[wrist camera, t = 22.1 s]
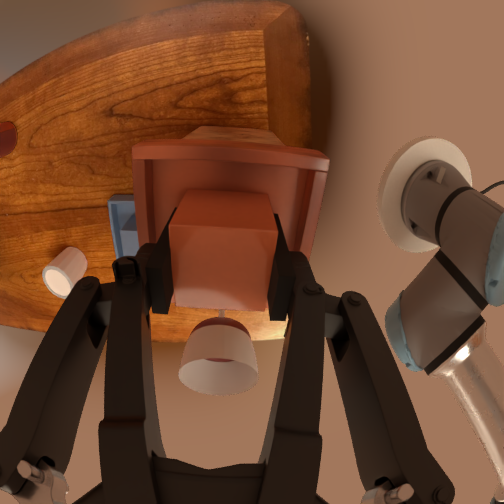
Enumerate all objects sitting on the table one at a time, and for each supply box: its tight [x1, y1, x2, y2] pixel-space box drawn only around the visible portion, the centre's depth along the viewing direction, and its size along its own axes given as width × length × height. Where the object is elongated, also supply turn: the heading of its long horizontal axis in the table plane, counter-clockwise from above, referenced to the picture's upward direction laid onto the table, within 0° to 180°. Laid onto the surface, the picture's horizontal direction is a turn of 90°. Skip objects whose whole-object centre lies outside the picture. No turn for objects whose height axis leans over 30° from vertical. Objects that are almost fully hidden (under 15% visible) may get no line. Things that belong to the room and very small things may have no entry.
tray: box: [108, 195, 135, 259], centre depth 38 cm, size 11×11×2 cm
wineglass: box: [179, 309, 259, 395], centre depth 35 cm, size 8×9×20 cm
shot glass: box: [42, 247, 87, 299], centre depth 39 cm, size 7×7×7 cm
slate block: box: [120, 215, 139, 257], centre depth 37 cm, size 5×5×5 cm
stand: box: [132, 126, 330, 308], centre depth 26 cm, size 11×11×22 cm
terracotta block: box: [168, 189, 278, 311], centre depth 15 cm, size 5×5×5 cm
